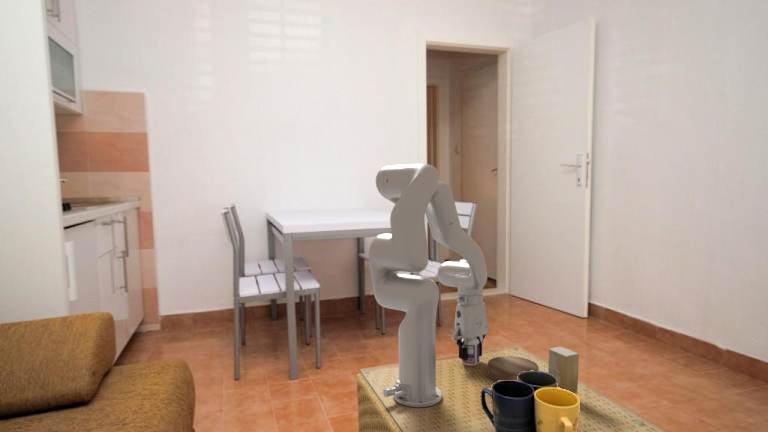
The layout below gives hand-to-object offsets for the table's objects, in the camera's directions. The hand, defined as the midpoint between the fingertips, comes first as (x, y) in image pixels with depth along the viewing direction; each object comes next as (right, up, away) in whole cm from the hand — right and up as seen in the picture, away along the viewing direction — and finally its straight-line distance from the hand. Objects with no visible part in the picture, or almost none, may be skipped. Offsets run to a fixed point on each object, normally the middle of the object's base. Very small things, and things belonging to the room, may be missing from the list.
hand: (470, 356), depth 144 cm
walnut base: (+10, -2, -10) cm, 14 cm away
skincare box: (+19, -3, -24) cm, 31 cm away
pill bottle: (0, -2, 0) cm, 2 cm away
